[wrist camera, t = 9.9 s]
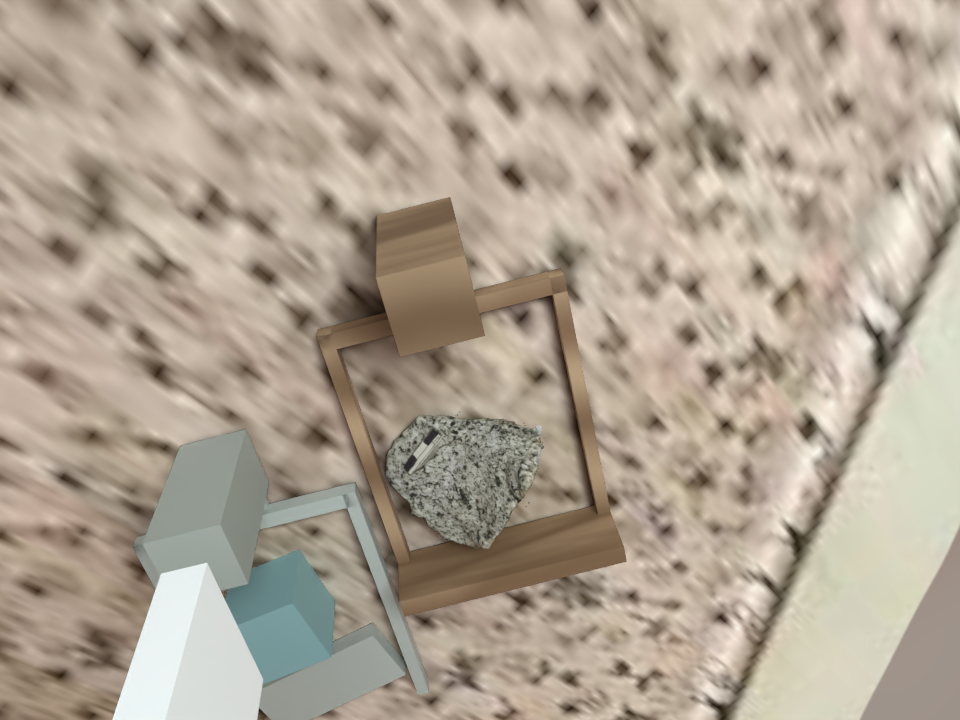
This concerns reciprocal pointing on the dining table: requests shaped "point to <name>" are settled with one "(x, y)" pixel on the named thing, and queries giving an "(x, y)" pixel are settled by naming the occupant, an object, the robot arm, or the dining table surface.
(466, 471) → the rock sample
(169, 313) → the dining table surface
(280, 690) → the grey rectangular block
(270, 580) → the teal block
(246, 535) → the grey open frame
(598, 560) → the brown open frame
